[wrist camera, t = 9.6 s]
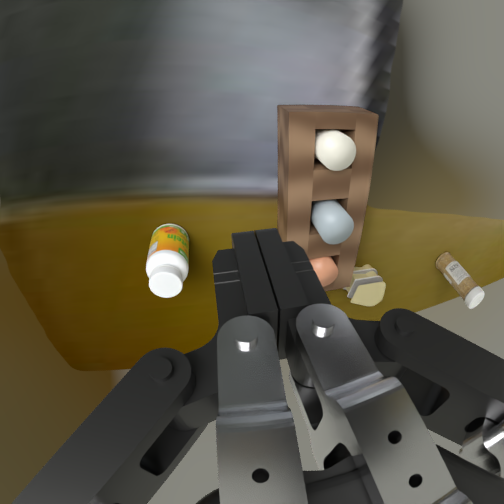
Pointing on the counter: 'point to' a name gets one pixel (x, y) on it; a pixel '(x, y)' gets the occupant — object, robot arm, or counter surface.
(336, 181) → the button panel
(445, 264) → the sprinkles bottle
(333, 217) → the blue-grey egg
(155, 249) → the supplement bottle
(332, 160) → the cream button
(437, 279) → the counter surface
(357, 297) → the stacked layers on plate
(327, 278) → the brown egg
